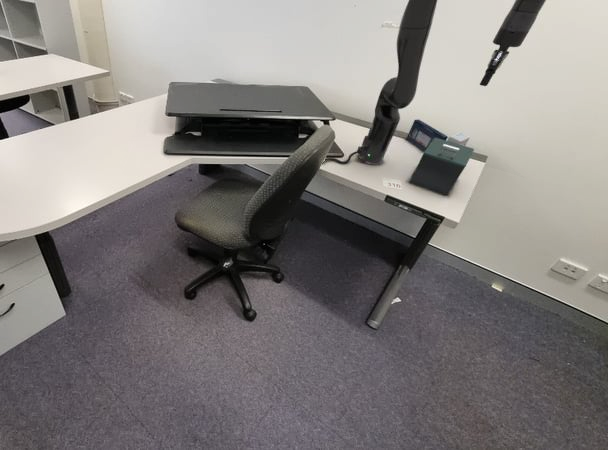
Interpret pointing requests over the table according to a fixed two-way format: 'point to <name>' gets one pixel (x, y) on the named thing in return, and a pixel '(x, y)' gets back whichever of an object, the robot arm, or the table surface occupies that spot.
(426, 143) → the vhs cassette tape
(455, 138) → the ink box
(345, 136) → the table surface
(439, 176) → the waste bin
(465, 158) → the bin lid
